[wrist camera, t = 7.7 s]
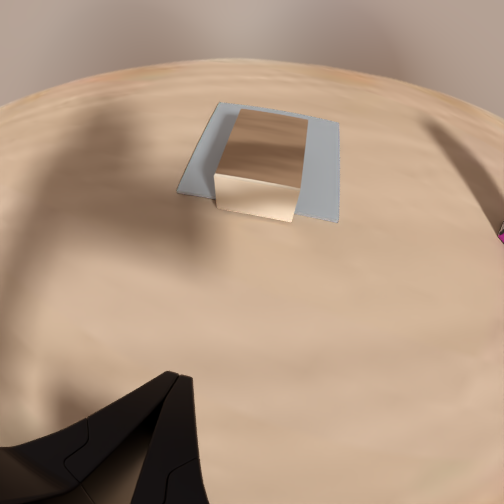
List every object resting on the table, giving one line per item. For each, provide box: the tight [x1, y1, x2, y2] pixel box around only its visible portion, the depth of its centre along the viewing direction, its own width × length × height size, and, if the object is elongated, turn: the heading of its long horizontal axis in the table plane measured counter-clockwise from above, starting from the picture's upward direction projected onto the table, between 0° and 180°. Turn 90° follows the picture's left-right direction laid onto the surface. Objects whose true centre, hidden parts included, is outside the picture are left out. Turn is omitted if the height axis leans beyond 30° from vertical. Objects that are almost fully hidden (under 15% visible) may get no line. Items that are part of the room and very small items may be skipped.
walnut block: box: [214, 109, 308, 222], centre depth 27 cm, size 4×7×10 cm
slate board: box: [177, 102, 340, 223], centre depth 31 cm, size 16×16×1 cm
